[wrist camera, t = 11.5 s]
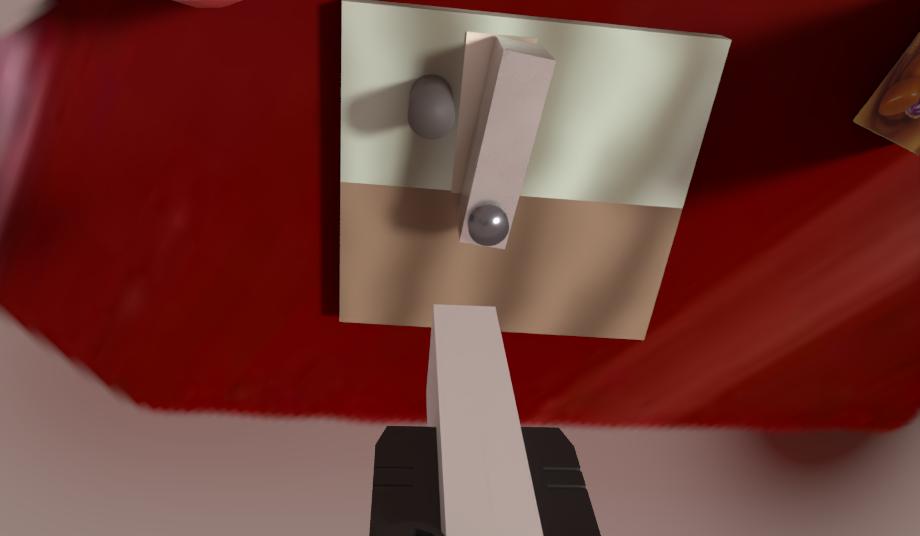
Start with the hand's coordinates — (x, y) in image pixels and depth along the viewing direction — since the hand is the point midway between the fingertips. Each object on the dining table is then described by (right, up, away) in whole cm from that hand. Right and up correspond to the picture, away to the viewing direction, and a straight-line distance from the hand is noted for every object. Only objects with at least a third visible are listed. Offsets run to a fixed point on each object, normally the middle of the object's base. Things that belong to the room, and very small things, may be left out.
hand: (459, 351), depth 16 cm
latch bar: (+2, +10, +21) cm, 23 cm away
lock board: (+3, +7, +24) cm, 25 cm away
